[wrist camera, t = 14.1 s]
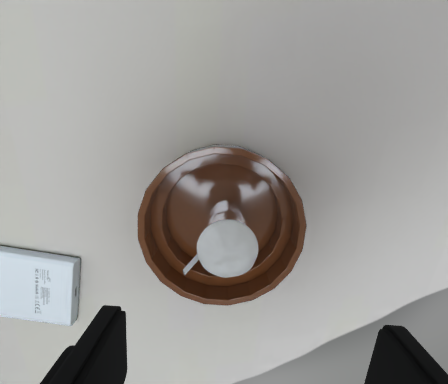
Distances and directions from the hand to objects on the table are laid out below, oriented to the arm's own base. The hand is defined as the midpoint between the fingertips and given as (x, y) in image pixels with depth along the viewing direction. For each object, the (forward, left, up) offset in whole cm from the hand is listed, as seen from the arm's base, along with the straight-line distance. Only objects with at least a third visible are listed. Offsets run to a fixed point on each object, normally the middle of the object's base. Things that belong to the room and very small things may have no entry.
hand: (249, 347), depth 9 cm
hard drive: (+10, -23, -18) cm, 31 cm away
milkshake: (+1, -1, -18) cm, 18 cm away
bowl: (+1, -1, -18) cm, 18 cm away
